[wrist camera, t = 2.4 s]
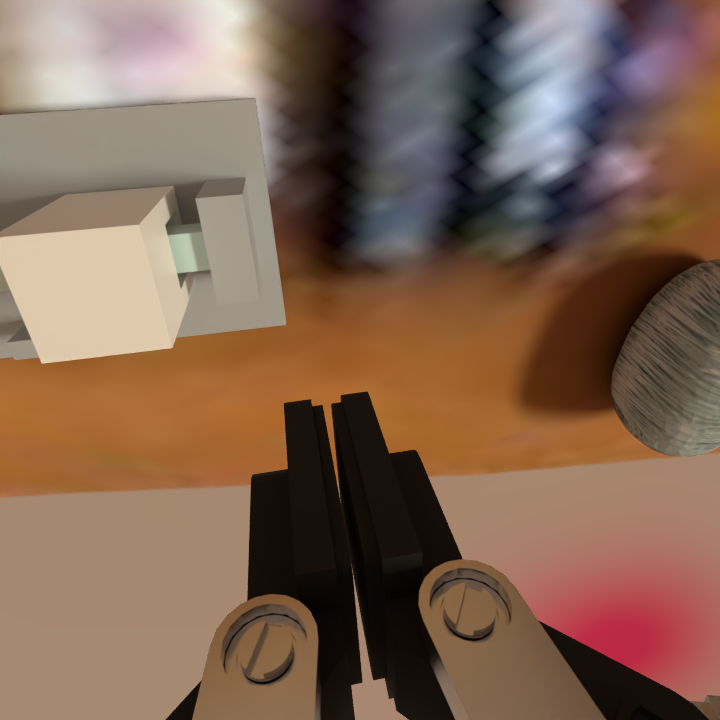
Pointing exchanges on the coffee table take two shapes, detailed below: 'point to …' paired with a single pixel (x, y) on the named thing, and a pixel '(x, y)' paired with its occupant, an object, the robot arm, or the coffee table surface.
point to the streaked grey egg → (674, 367)
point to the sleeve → (98, 274)
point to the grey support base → (156, 169)
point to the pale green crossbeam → (174, 250)
